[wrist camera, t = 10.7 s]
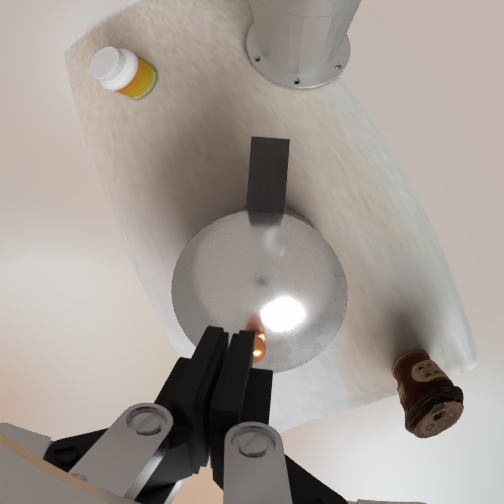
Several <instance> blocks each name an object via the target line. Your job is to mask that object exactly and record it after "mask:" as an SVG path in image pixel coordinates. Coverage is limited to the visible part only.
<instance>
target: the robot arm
mask: <svg viewBox="0 0 504 504" xmlns="http://www.w3.org/2000/svg"><path fill="white" fill-rule="evenodd" d="M360 2H361V0H249V4H250V8H251V12H252V17H253V21H254V22H253V24H252V25H251V27H250V29H249V31H248V34H247V38H246V48H247V52H248V56H249V58H250V61H251V63H252V64H253V66H254V67H255V69H256V70H257V71H258V72H259V73H260V74H261V75H262V76H263V77H265V78H266V79H268V80H269V81H271V82H273V83H275V84H277V85H279V86H282V87H286V88H289V89H297V90H309V89H314V88H319V87H322V86H324V85H327V84H329V83H330V82H332V81H333V80H335V79H336V78H337V77H338V76H339V75H340V74H341V73H342V72H343V70H344V69H345V67H346V65H347V63H348V61H349V56H350V43H349V39H348V36H347V34H346V33H347V31H348V29H349V26H350V24H351V22H352V20H353V17H354V15H355V13H356V11H357V9H358V6H359V4H360ZM256 60H260V61H258V62H256ZM335 67H338V68H339V69H336V68H335ZM295 82H298V83H299V84H298V85H296V84H295ZM254 344H255V331H246V330H240V331H239V334H237V333H233V335H232V338H231V341H230V344H229V332H224V328H222V327H215V326H207V327H206V329H205V331H204V333H203V335H202V337H201V340H200V342H199V344H198V346H197V348H196V350H195V352H194V354H193V356H192V358H191V359H189V358H184V357H180V358H179V359H178V361H177V362H176V364H175V366H174V368H173V370H172V372H171V373H170V375H169V377H168V379H167V381H166V382H165V384H164V386H163V388H162V390H161V391H160V393H159V395H158V397H157V399H156V400H155V402H154V403H140V404H136V405H133V406H131V407H129V408H128V409H127V410H125V411H124V412H123V413H122V415H121V416H120V417H119V418H118V419H117V420H116V421H115V422H114V423H113V424H112V425H111V427H110V428H107V429H102V430H99V431H94V432H90V433H86V434H82V435H77V436H73V437H68V438H63V439H60V440H57V441H53V440H52V438H51V437H48V436H45V435H41V434H38V433H35V432H32V431H28V430H25V429H23V428H20V427H17V426H14V425H11V424H8V423H0V504H171V503H172V501H173V499H174V497H175V496H176V494H177V492H178V490H179V489H180V487H181V485H182V482H183V479H184V478H187V477H189V476H192V474H193V473H194V474H198V473H199V469H200V466H203V467H206V466H207V463H208V460H209V456H210V461H211V468H213V480H214V481H215V482H216V484H217V485H218V486H219V487H220V488H221V489H222V490H223V491H224V495H223V504H426V503H421V502H388V501H371V500H360V499H358V500H357V502H352V501H346V500H345V499H344V498H343V497H342V496H341V495H339V494H338V493H336V492H335V491H333V490H331V489H330V488H329V487H327V486H326V485H325V484H323V483H322V482H321V481H319V480H318V479H316V478H315V477H314V476H312V475H311V474H310V473H308V472H307V471H306V470H305V469H303V468H302V467H301V466H299V465H298V464H297V463H295V462H294V461H293V460H291V459H290V458H289V457H288V456H287V455H285V454H284V449H283V443H282V439H281V436H280V434H279V433H278V432H277V431H276V430H275V429H274V428H272V427H271V426H269V425H268V424H269V413H270V402H271V390H272V378H273V370H268V369H259V368H252V365H253V355H254Z"/></svg>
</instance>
